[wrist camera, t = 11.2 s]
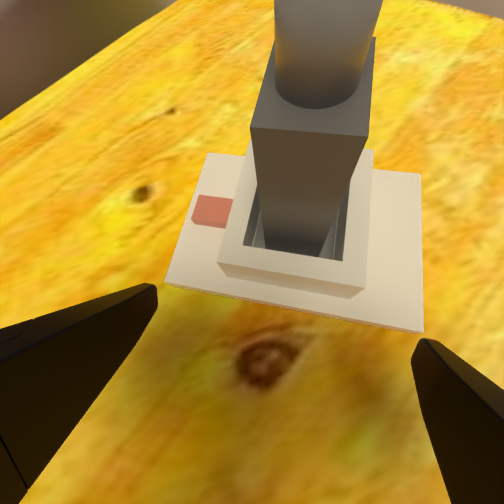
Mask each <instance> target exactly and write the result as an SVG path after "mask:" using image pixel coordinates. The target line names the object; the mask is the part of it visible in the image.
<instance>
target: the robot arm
mask: <svg viewBox="0 0 504 504" xmlns="http://www.w3.org/2000/svg"><path fill="white" fill-rule="evenodd" d="M157 307H158V297H157V288H156V286H155V285H153V284H148V283H143V284H139V285H136V286H133V287H130V288H127V289H124V290H121V291H118V292H114V293H111V294H108V295H105V296H102V297H99V298H96V299H93V300H90V301H86V302H83V303H80V304H77V305H74V306H71V307H68V308H65V309H61V310H58V311H55V312H52V313H49V314H46V315H43V316H40V317H37V318H35V319H34V320H33V319H30V320H27V321H24V322H21V323H18V324H14V325H11V326H8V327H5V328H1V329H0V504H19V503H20V501H21V500H22V499H23V497H24V496H25V494H26V493H27V492H28V489H29V488H30V487H31V486H32V485H33V483H34V482H35V481H36V479H37V478H38V477H39V475H40V474H41V472H42V471H43V470H44V468H45V467H46V466H47V464H48V463H49V462H50V460H51V459H52V458H53V456H54V455H55V453H56V452H57V451H58V449H59V448H60V447H61V445H62V444H63V443H64V441H65V440H66V439H67V437H68V436H69V435H70V433H71V432H72V430H73V429H74V428H75V426H76V425H77V424H78V422H79V421H80V420H81V418H82V417H83V416H84V414H85V413H86V411H87V410H88V409H89V407H90V406H91V405H92V403H93V402H94V401H95V399H96V398H97V397H98V395H99V394H100V393H101V391H102V390H103V388H104V387H105V386H106V384H107V383H108V382H109V380H110V379H111V378H112V376H113V375H114V374H115V372H116V371H117V370H118V368H119V367H120V365H121V364H122V363H123V361H124V360H125V359H126V357H127V356H128V355H129V353H130V352H131V351H132V349H133V348H134V346H135V345H136V343H137V342H138V340H139V339H140V337H141V335H142V334H143V332H144V330H145V328H146V327H147V325H148V323H149V322H150V320H151V318H152V317H153V315H154V313H155V312H156V310H157ZM411 366H412V371H413V376H414V380H415V385H416V390H417V394H418V399H419V404H420V408H421V412H422V416H423V419H424V422H425V425H426V428H427V431H428V434H429V437H430V440H431V443H432V447H433V450H434V453H435V456H436V459H437V462H438V465H439V468H440V471H441V474H442V477H443V480H444V483H445V486H446V489H447V492H448V495H449V498H450V501H451V504H504V390H503V389H502V388H500V387H499V386H498V385H496V384H495V383H494V382H492V381H491V380H490V379H488V378H487V377H486V376H484V375H483V374H481V373H480V372H479V371H477V370H476V369H475V368H473V367H472V366H471V365H469V364H468V363H467V362H465V361H464V360H463V359H461V358H460V357H459V356H457V355H456V354H455V353H453V352H452V351H451V350H449V349H448V348H447V347H445V346H444V345H443V344H441V343H440V342H438V341H437V340H433V339H428V338H421V339H420V340H419V342H418V344H417V346H416V348H415V351H414V353H413V355H412V358H411Z"/></svg>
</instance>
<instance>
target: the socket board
mask: <svg viewBox="0 0 504 504" xmlns="http://www.w3.org/2000/svg"><path fill="white" fill-rule="evenodd" d="M373 154H374V149H363V151H362V153H361V156H360V158H359V160H358V163H357V165H356V168H355V170H354V172H353V175H352V177H351V180H350V182H349V185H348V187H347V189H346V192H345V194H344V197H343V199H342V202H341V204H340V206H339V209H338V211H337V214H336V216H335V219H334V221H333V223H332V226H331V228H330V231H329V233H328V235H327V238H326V240H325V243H324V245H323V248H322V250H321V252H320V255H319V257H312V256H306V255H299V254H293V253H287V252H281V251H275V250H268V249H266V247H265V240H264V232H263V224H262V217H261V209H260V201H259V194H258V186H257V178H256V171H255V163H254V155H253V148H252V140H251V139H250V141H249V145H248V148H247V152H246V156H238V155H228V154H218V153H208V154H207V157H206V160H205V163H204V166H203V169H202V172H201V175H200V178H199V181H198V183H197V186H196V189H195V192H194V195H193V198H192V201H191V204H190V207H189V210H188V213H187V216H186V219H185V222H184V225H183V228H182V230H181V233H180V236H179V239H178V242H177V245H176V248H175V251H174V254H173V257H172V260H171V263H170V266H169V269H168V272H167V275H166V277H165V280H164V282H165V283H167V284H169V285H170V286H173V287H178V288H184V289H189V290H194V291H199V292H204V293H209V294H214V295H219V296H224V297H229V298H234V299H239V300H244V301H249V302H254V303H259V304H264V305H269V306H275V307H280V308H285V309H290V310H295V311H300V312H305V313H310V314H315V315H320V316H325V317H330V318H335V319H340V320H345V321H350V322H355V323H360V324H366V325H371V326H376V327H381V328H386V329H391V330H396V331H401V332H406V333H411V334H417V333H424V316H423V264H422V212H421V174H417V173H407V172H397V171H387V170H377V169H373Z"/></svg>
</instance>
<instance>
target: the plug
mask: <svg viewBox="0 0 504 504" xmlns="http://www.w3.org/2000/svg"><path fill="white" fill-rule="evenodd" d="M382 2H383V0H274V12H275V40H274V44H273V47H272V51H271V54H270V58H269V61H268V65H267V68H266V72H265V75H264V79H263V82H262V86H261V89H260V93H259V96H258V100H257V104H256V107H255V111H254V114H253V118H252V121H251V125H250V132H251V140H252V148H253V155H254V163H255V171H256V178H257V186H258V194H259V201H260V209H261V217H262V224H263V232H264V240H265V247H266V249H268V250H275V251H281V252H287V253H293V254H299V255H306V256H312V257H319V255H320V252H321V250H322V248H323V245H324V243H325V240H326V238H327V235H328V233H329V231H330V228H331V226H332V223H333V221H334V219H335V216H336V214H337V211H338V209H339V206H340V204H341V202H342V199H343V197H344V194H345V192H346V189H347V187H348V185H349V182H350V180H351V177H352V175H353V172H354V170H355V168H356V165H357V163H358V160H359V158H360V156H361V153H362V151H363V148H364V146H365V143H366V141H367V139H368V134H369V120H370V107H371V93H372V80H373V66H374V53H375V40H376V37H372V36H373V33H374V29H375V26H376V23H377V19H378V16H379V12H380V9H381V6H382Z"/></svg>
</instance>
